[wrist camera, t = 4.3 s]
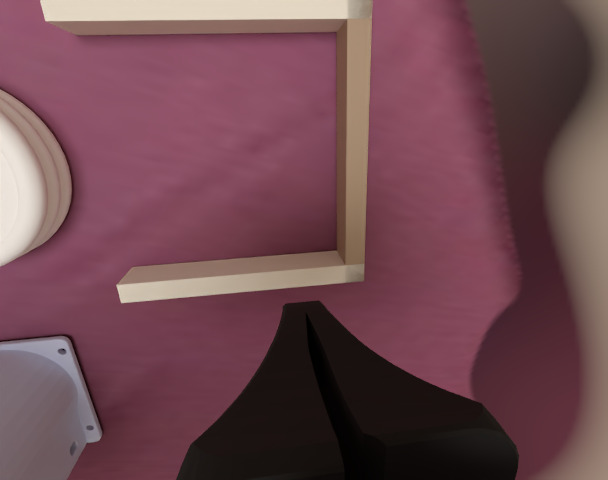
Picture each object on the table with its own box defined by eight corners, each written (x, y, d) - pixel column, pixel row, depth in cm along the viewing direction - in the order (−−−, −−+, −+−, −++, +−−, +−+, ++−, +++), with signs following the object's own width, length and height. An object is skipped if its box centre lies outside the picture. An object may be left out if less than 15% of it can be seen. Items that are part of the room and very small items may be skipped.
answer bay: (353, 264, 23) (363, 281, 21) (136, 283, 21) (121, 303, 19) (358, 6, 18) (372, -12, 15) (69, 7, 16) (36, -12, 14)
